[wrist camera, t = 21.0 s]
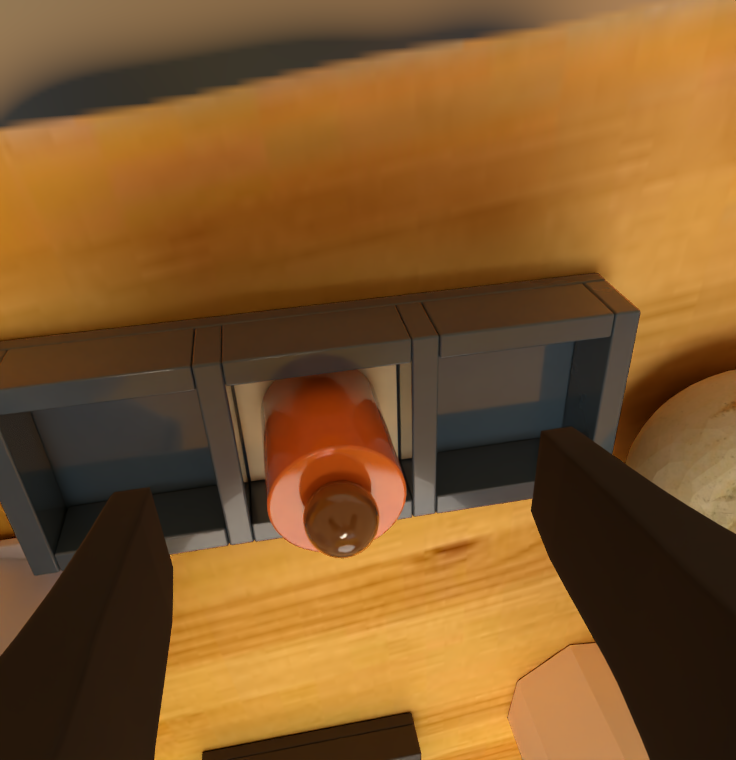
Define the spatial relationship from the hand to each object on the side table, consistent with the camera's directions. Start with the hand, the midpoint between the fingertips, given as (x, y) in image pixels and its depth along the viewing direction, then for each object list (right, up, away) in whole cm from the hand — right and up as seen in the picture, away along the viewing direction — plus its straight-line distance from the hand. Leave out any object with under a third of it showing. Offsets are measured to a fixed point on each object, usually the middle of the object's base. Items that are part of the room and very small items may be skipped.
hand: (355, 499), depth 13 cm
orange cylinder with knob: (-1, +1, +9) cm, 9 cm away
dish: (-1, +2, +10) cm, 10 cm away
